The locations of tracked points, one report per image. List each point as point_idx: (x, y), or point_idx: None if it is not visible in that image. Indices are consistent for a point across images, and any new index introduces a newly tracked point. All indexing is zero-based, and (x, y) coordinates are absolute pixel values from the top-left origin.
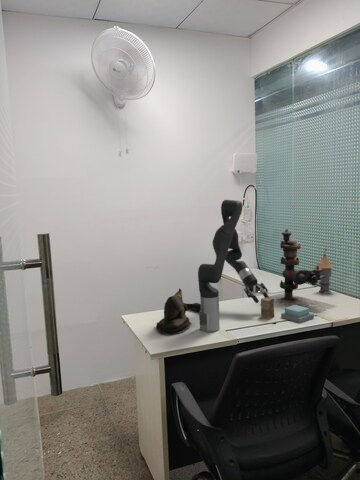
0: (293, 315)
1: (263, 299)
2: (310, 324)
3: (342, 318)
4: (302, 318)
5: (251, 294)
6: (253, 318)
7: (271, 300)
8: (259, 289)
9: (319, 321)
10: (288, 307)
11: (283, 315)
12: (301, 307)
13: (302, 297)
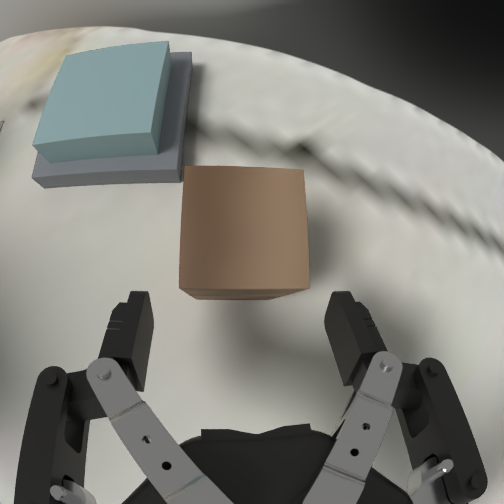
0: (166, 91)
1: (304, 243)
2: (175, 39)
3: (33, 38)
4: None
5: (432, 364)
6: None
7: (235, 170)
8: (201, 447)
9: (110, 44)
10: (117, 125)
11: (179, 155)
12: (70, 82)
13: None
